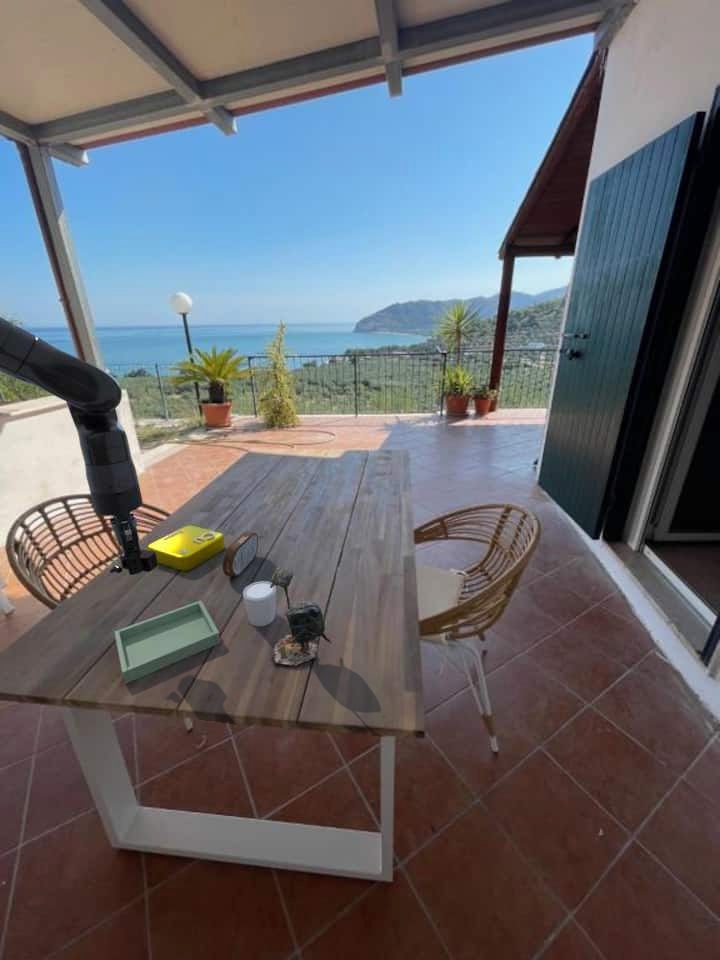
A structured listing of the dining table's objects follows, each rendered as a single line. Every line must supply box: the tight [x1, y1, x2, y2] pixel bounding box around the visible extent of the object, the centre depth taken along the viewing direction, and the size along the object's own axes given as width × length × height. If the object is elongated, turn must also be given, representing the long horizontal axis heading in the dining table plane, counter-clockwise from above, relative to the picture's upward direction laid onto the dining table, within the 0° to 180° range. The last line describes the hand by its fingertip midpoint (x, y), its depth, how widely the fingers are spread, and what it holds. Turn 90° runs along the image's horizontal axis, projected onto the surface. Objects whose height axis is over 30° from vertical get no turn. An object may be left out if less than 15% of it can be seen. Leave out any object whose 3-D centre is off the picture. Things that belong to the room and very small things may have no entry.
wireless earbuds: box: [109, 548, 159, 574], centre depth 74 cm, size 5×7×3 cm, turn 79°
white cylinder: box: [242, 580, 277, 627], centre depth 83 cm, size 7×7×7 cm
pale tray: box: [114, 600, 221, 685], centre depth 77 cm, size 17×13×3 cm
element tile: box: [147, 524, 226, 572], centre depth 109 cm, size 15×15×5 cm
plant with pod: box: [270, 566, 332, 667], centre depth 71 cm, size 8×11×20 cm
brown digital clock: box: [222, 530, 259, 577], centre depth 102 cm, size 15×3×8 cm, turn 168°
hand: (133, 565), depth 75 cm, fingers closed on wireless earbuds, 5 cm apart
